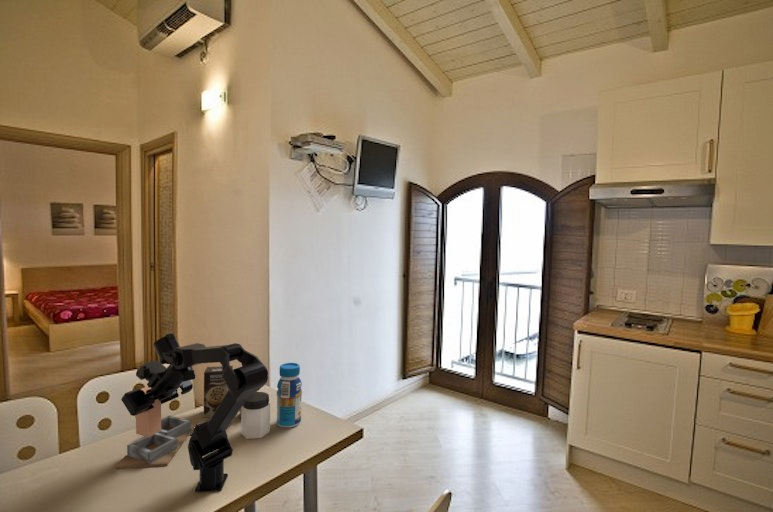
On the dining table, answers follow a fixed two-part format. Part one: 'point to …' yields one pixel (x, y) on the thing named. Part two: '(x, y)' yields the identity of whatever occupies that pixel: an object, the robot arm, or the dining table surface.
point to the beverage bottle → (289, 396)
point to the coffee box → (213, 389)
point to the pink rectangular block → (149, 419)
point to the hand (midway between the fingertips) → (145, 409)
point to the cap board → (159, 462)
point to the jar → (255, 416)
